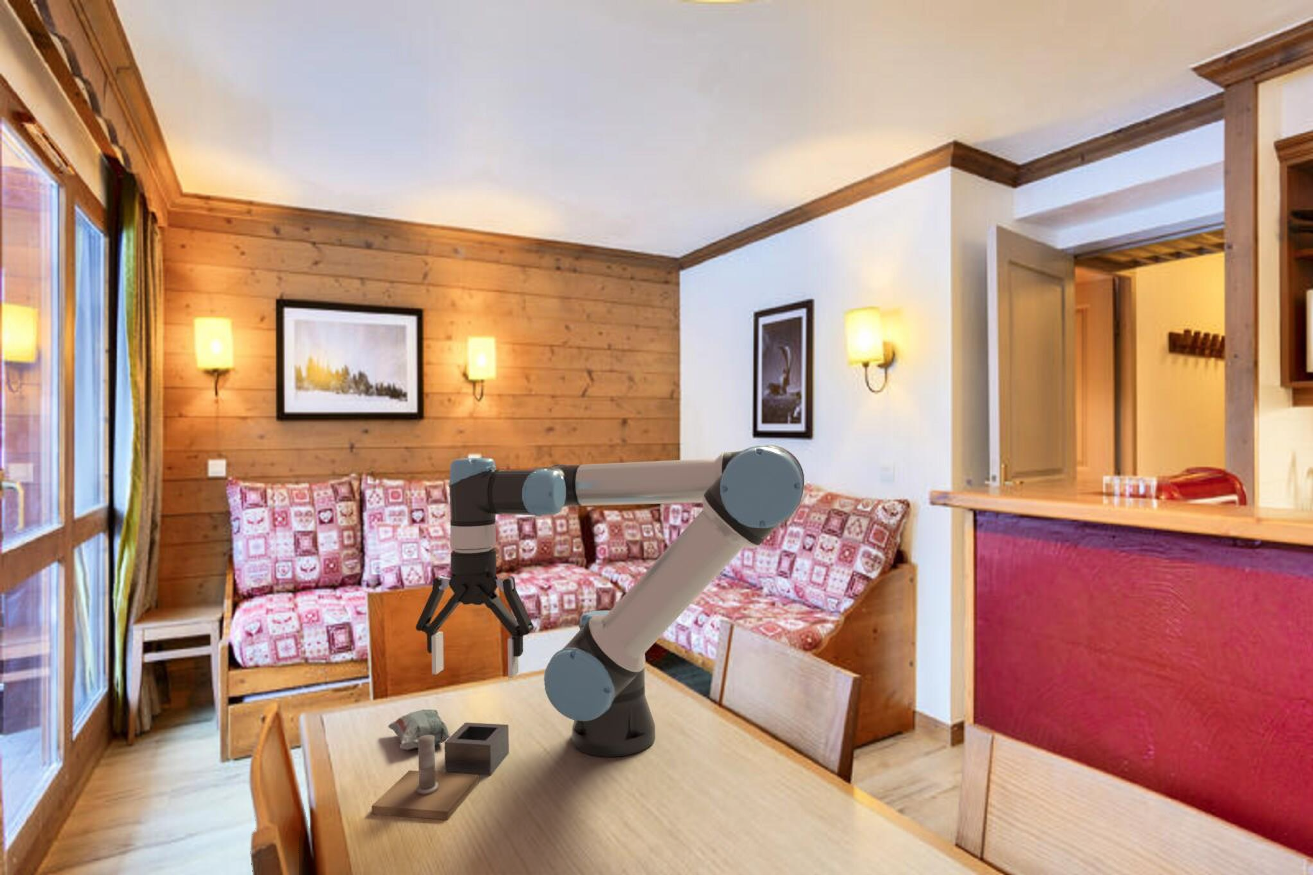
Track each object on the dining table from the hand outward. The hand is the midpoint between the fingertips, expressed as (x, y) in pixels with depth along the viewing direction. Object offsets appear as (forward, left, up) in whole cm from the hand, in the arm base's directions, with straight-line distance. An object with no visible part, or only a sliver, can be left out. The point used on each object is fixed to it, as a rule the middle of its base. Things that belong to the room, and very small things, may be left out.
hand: (475, 673), depth 120 cm
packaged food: (+14, -6, -16) cm, 22 cm away
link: (0, 0, -15) cm, 15 cm away
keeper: (+3, +12, -15) cm, 20 cm away
